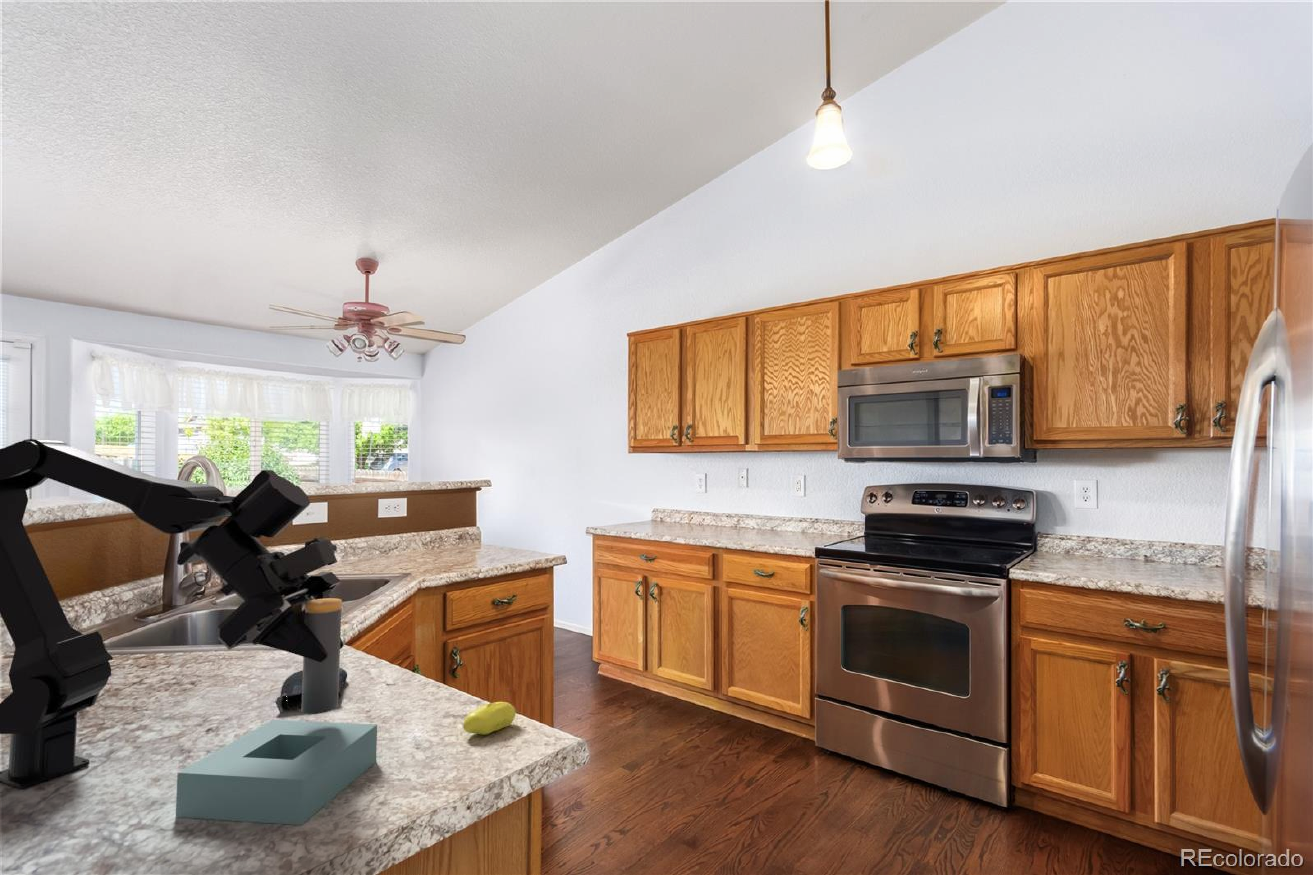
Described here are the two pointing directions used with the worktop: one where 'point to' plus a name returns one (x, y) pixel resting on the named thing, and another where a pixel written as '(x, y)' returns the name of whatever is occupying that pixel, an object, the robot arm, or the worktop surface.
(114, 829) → the worktop surface
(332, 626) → the plug
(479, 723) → the lemon
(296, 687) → the electronic device
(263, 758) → the socket
